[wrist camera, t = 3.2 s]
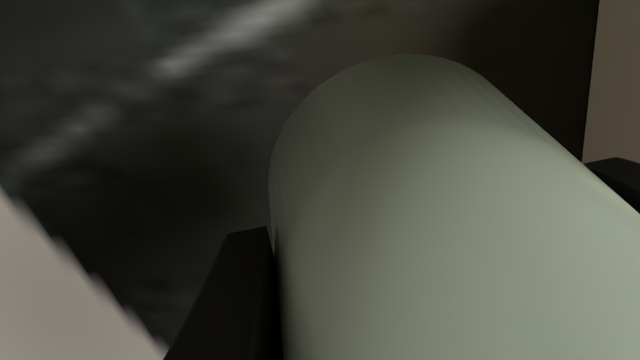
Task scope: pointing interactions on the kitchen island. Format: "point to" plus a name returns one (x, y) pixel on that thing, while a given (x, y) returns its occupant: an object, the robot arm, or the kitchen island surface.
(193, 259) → the kitchen island surface
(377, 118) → the sage cylinder
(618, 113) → the box
